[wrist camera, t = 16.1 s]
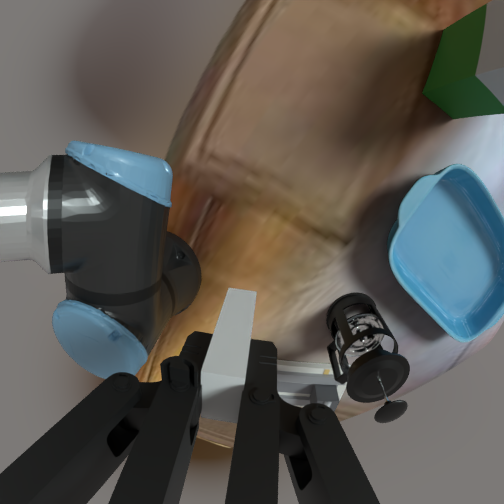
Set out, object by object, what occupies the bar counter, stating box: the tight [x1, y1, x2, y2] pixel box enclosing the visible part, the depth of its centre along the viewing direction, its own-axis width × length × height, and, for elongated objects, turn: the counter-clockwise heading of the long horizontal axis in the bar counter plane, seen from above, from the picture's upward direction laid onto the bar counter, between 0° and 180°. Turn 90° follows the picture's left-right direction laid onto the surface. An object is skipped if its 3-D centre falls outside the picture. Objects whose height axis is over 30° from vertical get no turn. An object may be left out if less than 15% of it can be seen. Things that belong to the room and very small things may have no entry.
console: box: [277, 360, 351, 407], centre depth 51 cm, size 26×12×2 cm, turn 83°
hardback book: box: [422, 0, 504, 119], centre depth 19 cm, size 18×7×24 cm, turn 155°
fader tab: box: [310, 384, 339, 411], centre depth 48 cm, size 4×4×6 cm
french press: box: [326, 293, 410, 423], centre depth 36 cm, size 12×9×23 cm
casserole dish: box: [387, 164, 504, 342], centre depth 38 cm, size 37×22×7 cm, turn 53°
